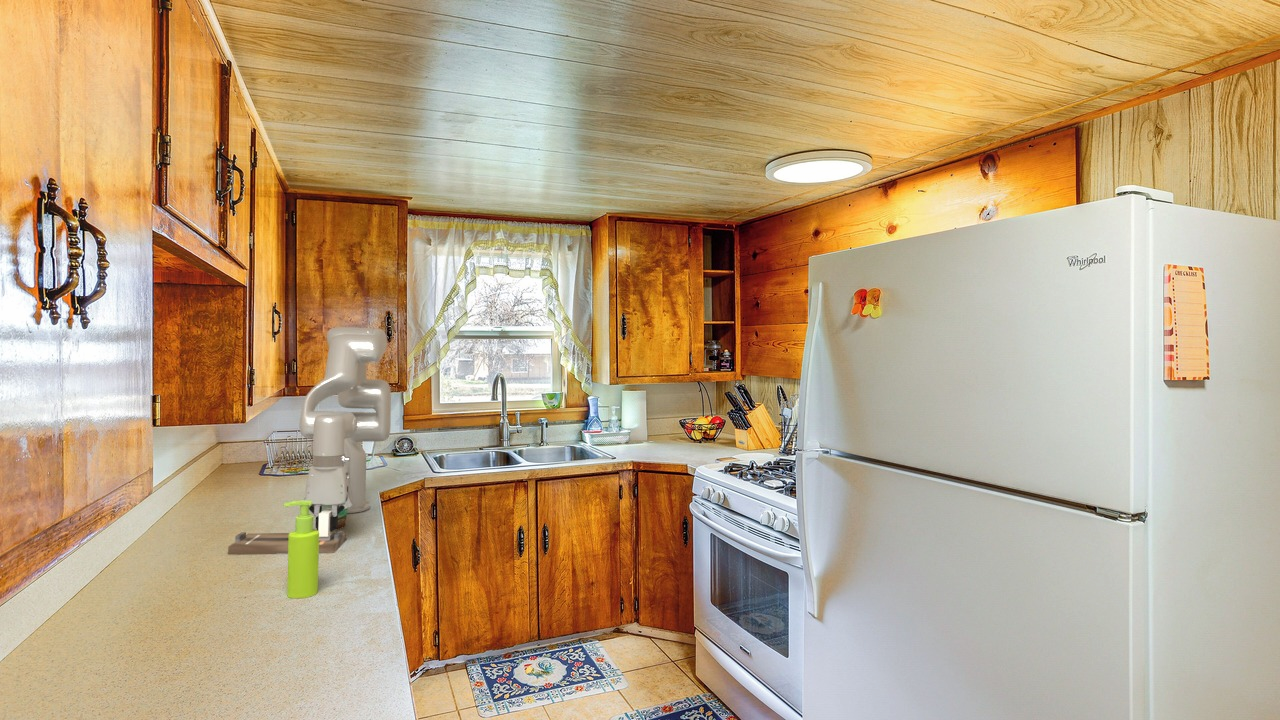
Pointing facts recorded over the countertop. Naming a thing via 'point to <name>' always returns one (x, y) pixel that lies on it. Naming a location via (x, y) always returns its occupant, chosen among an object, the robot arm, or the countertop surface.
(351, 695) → the countertop surface
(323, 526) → the block
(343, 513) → the food container
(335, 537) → the slider board
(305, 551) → the soap dispenser
